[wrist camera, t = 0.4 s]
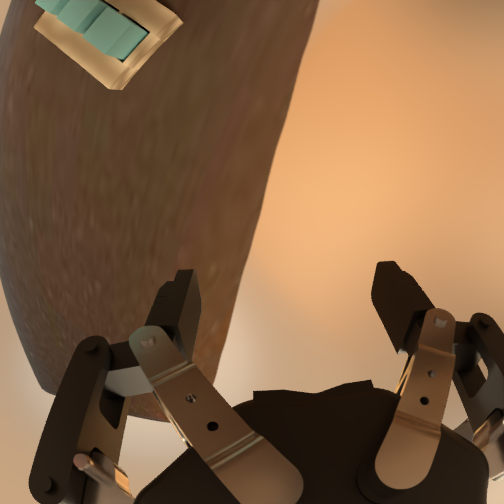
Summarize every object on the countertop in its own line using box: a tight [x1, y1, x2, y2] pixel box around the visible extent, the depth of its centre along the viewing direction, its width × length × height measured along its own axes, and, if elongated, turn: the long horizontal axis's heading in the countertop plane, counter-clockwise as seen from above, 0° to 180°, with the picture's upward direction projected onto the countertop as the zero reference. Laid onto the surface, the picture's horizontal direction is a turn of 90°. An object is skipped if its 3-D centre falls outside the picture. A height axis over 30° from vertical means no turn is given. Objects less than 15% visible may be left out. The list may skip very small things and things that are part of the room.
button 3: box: [82, 7, 149, 60], centre depth 23 cm, size 4×4×6 cm
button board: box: [34, 0, 183, 90], centre depth 24 cm, size 12×19×4 cm, turn 45°
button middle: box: [56, 0, 118, 34], centre depth 21 cm, size 4×4×6 cm
